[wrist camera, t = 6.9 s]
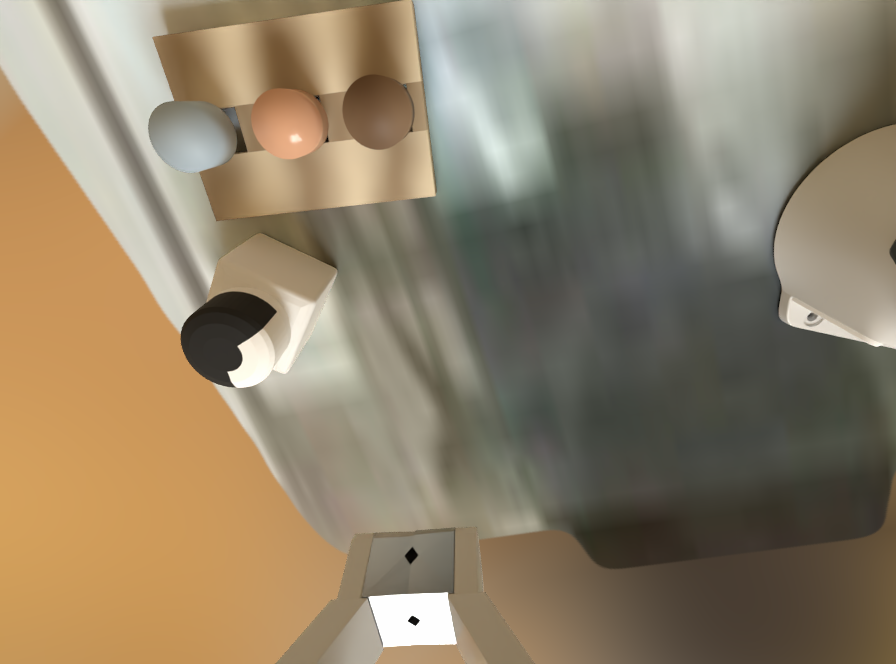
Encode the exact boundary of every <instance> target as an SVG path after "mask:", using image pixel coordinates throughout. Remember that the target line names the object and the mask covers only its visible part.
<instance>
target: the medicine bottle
mask: <svg viewBox="0 0 896 664" xmlns="http://www.w3.org/2000/svg"><path fill="white" fill-rule="evenodd" d="M336 276H337V269H336V268H334V267H332V266H330V265H328V264H326V263H324V262H322V261H319V260H317V259H315V258H313V257H311V256H309V255H307V254H305V253H302V252H300V251H298V250H296V249H294V248H292V247H290V246H288V245H285V244H283V243H281V242H279V241H277V240H275V239H273V238H271V237H268V236H266V235H264V234H262V233H257V234H255V235H254V236H253V237H251V238H250V239H248V240H247V241H245V242H244V243H242V244H241V245H239V246H238V247H236V248H235V249H233V250H232V251H230V252H229V253H227V254H226V255H224V256H223V257H221V258H220V259H219V261H218V263H217V267H216V270H215V274H214V277H213V281H212V284H211V288H210V291H209V295H208V298H207V302H206V303H205V304H204V305H203V306H202V307H200V308H199V309H198V310H197V311H195V312H194V313H193V314H192V315H191V316H190V317H189V318H188V319H187V320H186V321H185V323H184V325H183V327H182V331H181V345H182V349H183V352H184V354H185V356H186V358H187V360H188V362H189V363H190V364H191V366H192V367H193V368H194V369H195V370H196V371H197V372H198V373H199V374H200V375H202V376H203V377H205V378H206V379H208V380H210V381H212V382H214V383H216V384H219V385H223V386H227V387H236V388H241V387H249V386H253V385H256V384H258V383H260V382H261V381H263V380H264V379H265V378H266V377H267V376H268V375H269V374H270V372H271V371H272V369H273V370H275V371H278V372H280V373H283V374H285V373H287V372H288V371H289V369H290V368H291V366H292V365H293V363H294V361H295V360H296V358H297V357H298V355H299V353H300V352H301V350H302V349H303V347H304V345H305V344H306V342H307V341H308V339H309V337H310V336H311V334H312V332H313V330H314V328H315V325H316V323H317V321H318V318H319V316H320V314H321V311H322V309H323V306H324V304H325V302H326V299H327V297H328V295H329V292H330V290H331V287H332V285H333V283H334V280H335V278H336Z"/></svg>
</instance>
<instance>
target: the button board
mask: <svg viewBox="0 0 896 664" xmlns="http://www.w3.org/2000/svg"><path fill="white" fill-rule="evenodd" d="M153 40H154V43H155V46H156V49H157V52H158V55H159V58H160V60H161V63H162V66H163V69H164V72H165V75H166V78H167V80H168V83H169V86H170V89H171V92H172V95H173V98H174V101H205V102H209V103H211V104H213V105H215V106H217V107H218V108H220V109H224V108H232V107H235V110H236V114H237V117H238V121H239V124H240V127H241V131H242V134H243V137H244V141H245V144H246V148H247V151H244V152H236V153H235V154H234V155H233V157H232V158H231V159H230V160H229V161H228V162H227V163H225V164H223V165H220V166H217V167H213V168H210V169H206V170H203V171H199V172H200V175H201V178H202V181H203V184H204V187H205V190H206V192H207V195H208V198H209V201H210V204H211V207H212V210H213V213H214V215H215V218H216V221H220V220H229V219H238V218H246V217H255V216H264V215H273V214H282V213H290V212H299V211H308V210H317V209H326V208H334V207H343V206H352V205H361V204H370V203H378V202H387V201H396V200H405V199H413V198H422V197H431V196H436V192H437V190H436V181H435V173H434V165H433V157H432V149H431V141H430V133H429V124H428V116H427V108H426V100H425V92H424V84H423V76H422V67H421V59H420V51H419V43H418V35H417V27H416V18H415V10H414V4H413V2H412V0H402V1H395V2H388V3H382V4H375V5H368V6H361V7H354V8H347V9H341V10H334V11H327V12H320V13H313V14H307V15H300V16H293V17H286V18H279V19H272V20H266V21H259V22H252V23H245V24H238V25H231V26H225V27H218V28H211V29H204V30H197V31H191V32H184V33H177V34H170V35H163V36H156V37H153ZM372 74H376V75H382V76H386V77H390V78H392V79H395V80H397V81H398V82H400V83H401V84H402V85H405V84H407V90H408V92H409V94H410V95H411V98H412V100H413V103H414V109H415V117H414V122H413V126H412V128H413V130H412V131H410V132H409V133H408V134H407V136H406V137H405V138H404V139H402V140H401V141H400V142H398V143H397V144H396V145H394V146H392V147H390V148H388V149H383V150H374V149H369V148H367V147H365V146H363V145H361V144H360V143H358V142H357V141H356V140H355V139H354V138H353V137H352V136H351V135H350V133H349V132H348V130H347V128H346V126H345V123H344V119H343V114H342V105H343V100H344V96H345V94H346V92H347V90H348V88H349V87H350V85H351V84H352V83H353V82H354V81H356V80H357V79H359V78H361V77H363V76H366V75H372ZM277 88H282V89H299V90H303V91H306V92H308V93H310V94H311V95H313V96H314V97H315V96H319V97H320V102H321V105H322V106H323V108H324V110H325V112H326V114H327V118H328V124H329V129H328V138H329V141H325V142H324V144H323V145H322V146H321V147H320V148H319V149H318V150H316V151H314V152H312V153H310V154H307V155H304V156H302V157H299V158H296V159H282V158H279V157H276V156H274V155H272V154H271V153H269V152H268V151H267V150H265V149H264V148H263V147H262V146H261V144H260V143H259V142H258V140H257V138H256V136H255V134H254V131H253V128H252V123H251V113H252V108H253V105H254V103H255V101H256V100H257V98H258V97H259V96H260V95H261V94H262V93H264V92H266V91H268V90H270V89H277Z"/></svg>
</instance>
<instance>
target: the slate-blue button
mask: <svg viewBox="0 0 896 664" xmlns="http://www.w3.org/2000/svg"><path fill="white" fill-rule="evenodd" d="M148 130H149V137H150V140H151V143H152V145H153V147H154V149H155V151H156V152H157V154H158V155H159V156H160V157H161V159H162V160H163V161H164V162H166V163H167V164H168V165H169V166H171V167H173V168H175V169H177V170H179V171H182V172H187V173H195V172H199V171H203V170H206V169H210V168H213V167H217V166H220V165H223V164H225V163H227V162H228V161H229V160H230V159H231V158H232V157H233V155H234V154H235V151H236V148H237V135H236V131H235V128H234V126H233V124H232V122H231V120H230V119H229V117H228V116H227V115H226V114H225V113H224V112H223V111H222V110H221V109H220V108H218V107H217V106H215V105H213V104H211V103H209V102H205V101H172V102H165V103H163V104H161V105H159V106H158V107H157V108H155V110H154V111H153V112H152V114H151V116H150V119H149V125H148Z"/></svg>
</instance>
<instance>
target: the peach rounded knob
mask: <svg viewBox="0 0 896 664" xmlns="http://www.w3.org/2000/svg"><path fill="white" fill-rule="evenodd" d="M251 123H252V128H253V131H254V134H255V136H256V138H257V140H258V142H259V143H260V144H261V146H262V147H263V148H264V149H265V150H267V151H268V152H269V153H271V154H272V155H274V156H276V157H279V158H282V159H296V158H299V157H302V156H304V155H307V154H310V153H312V152H314V151H316V150H318V149H319V148H320V147H321V146H322V145H323V144H324V142H325V140H326V138H327V135H328V129H329V124H328V118H327V114H326V112H325V110H324V108H323V106H322V105H321V103H320V102H319V101H318V100H317V99H316V98H315V97H314V96H313V95H311V94H310V93H308V92H306V91H303V90H299V89H282V88H277V89H270V90H268V91H266V92H264V93H262V94H261V95H260V96H259V97H258V98H257V100H256V101H255V103H254V105H253V108H252V113H251Z"/></svg>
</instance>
